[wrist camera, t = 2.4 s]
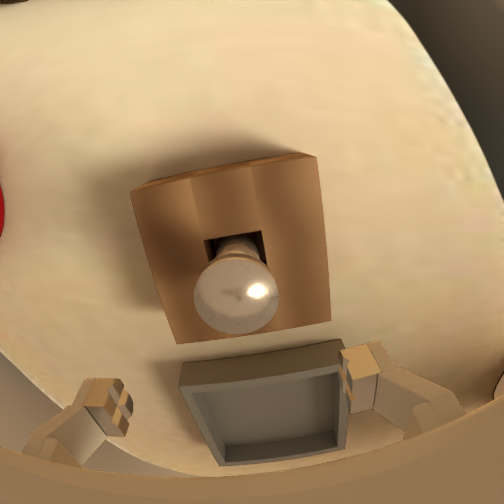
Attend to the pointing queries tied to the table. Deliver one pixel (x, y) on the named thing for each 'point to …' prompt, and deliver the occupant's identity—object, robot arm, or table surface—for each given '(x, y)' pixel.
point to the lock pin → (236, 287)
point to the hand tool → (11, 1)
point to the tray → (268, 404)
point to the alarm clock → (1, 211)
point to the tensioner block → (237, 222)
